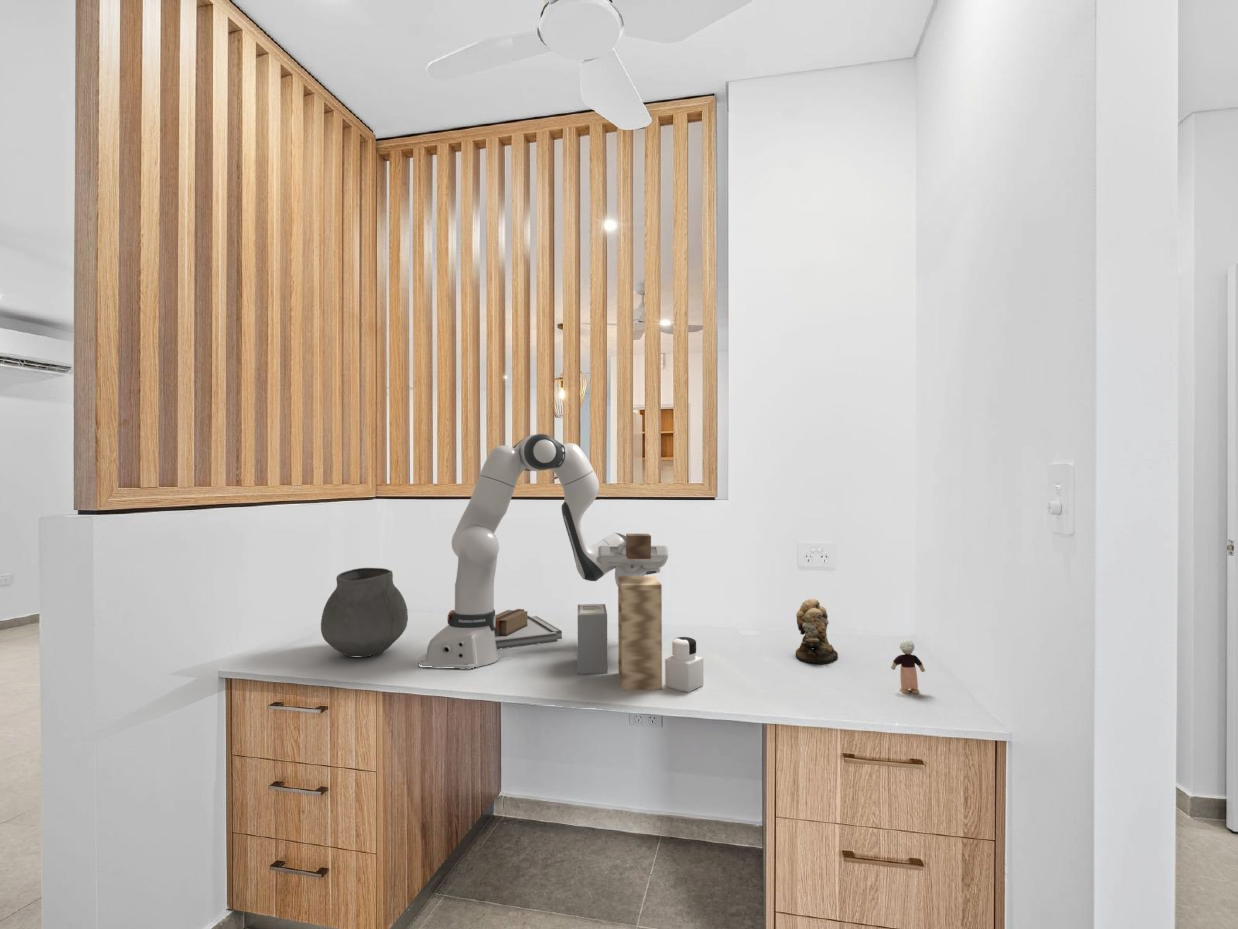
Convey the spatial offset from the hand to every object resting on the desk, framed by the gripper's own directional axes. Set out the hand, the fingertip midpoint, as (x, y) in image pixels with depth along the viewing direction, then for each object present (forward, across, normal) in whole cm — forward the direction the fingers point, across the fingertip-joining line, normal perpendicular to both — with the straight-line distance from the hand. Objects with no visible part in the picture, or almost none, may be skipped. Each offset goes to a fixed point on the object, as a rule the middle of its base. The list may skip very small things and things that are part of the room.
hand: (634, 543), depth 177 cm
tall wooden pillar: (-7, 0, +36) cm, 36 cm away
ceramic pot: (-34, -80, +21) cm, 89 cm away
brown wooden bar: (+3, 0, +5) cm, 6 cm away
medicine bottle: (-2, +11, +38) cm, 40 cm away
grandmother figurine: (+5, +65, +42) cm, 78 cm away
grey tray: (-51, -40, +12) cm, 65 cm away
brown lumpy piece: (-22, +54, +26) cm, 64 cm away
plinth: (-19, -12, +29) cm, 36 cm away
